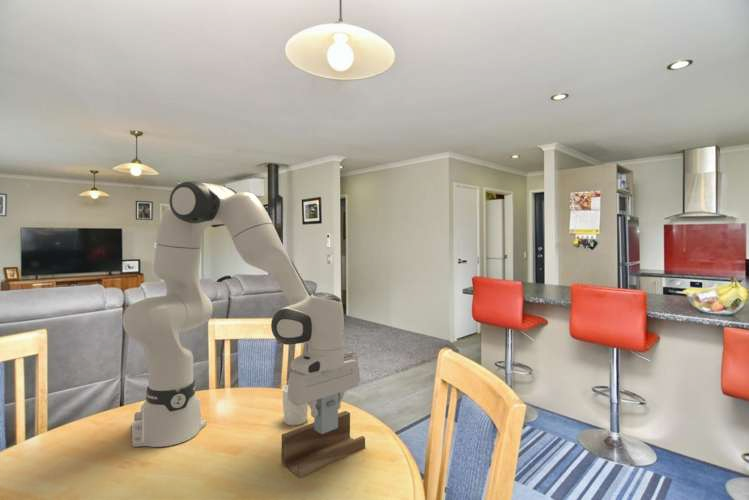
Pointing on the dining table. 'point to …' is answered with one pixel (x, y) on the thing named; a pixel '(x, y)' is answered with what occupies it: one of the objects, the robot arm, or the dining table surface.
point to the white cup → (293, 410)
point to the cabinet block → (327, 414)
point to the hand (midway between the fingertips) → (326, 412)
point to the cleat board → (318, 446)
